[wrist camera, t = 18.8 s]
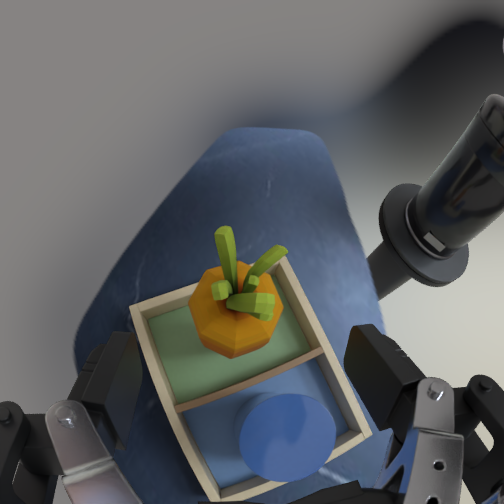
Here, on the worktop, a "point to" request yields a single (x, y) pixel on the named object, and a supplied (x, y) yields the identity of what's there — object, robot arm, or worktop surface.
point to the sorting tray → (240, 382)
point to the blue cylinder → (284, 435)
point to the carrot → (236, 300)
